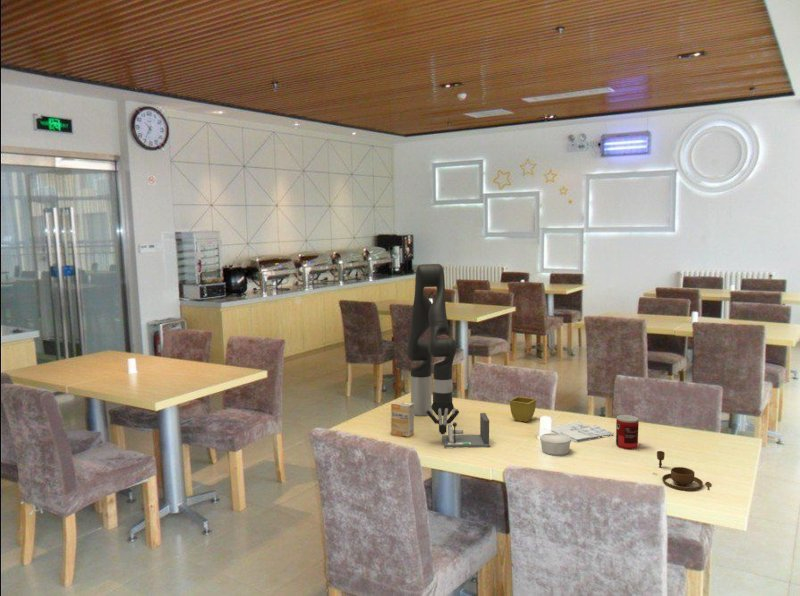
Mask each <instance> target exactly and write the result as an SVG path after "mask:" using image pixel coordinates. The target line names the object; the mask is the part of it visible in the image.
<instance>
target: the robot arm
mask: <svg viewBox="0 0 800 596" xmlns="http://www.w3.org/2000/svg"><path fill="white" fill-rule="evenodd" d="M414 278H415V280H414V281H415V282H414V283H415V284H414V297H413V303H412V304H413V305H412V311H411V318H410V319H411V321H410V329H409V331H410V332H409V336H408V342H407V345H406V355H407V356H406V357H407V358H408V359H407V360H409V361H412V362H413V361H414V362H415V361H416V362H417V361H422V363H420V364H419V365H417V366H415V367H412V368H411V369H410V403H414V416H421V417H423V416H429V418H430V419H431V421H432V422H433V423H434V424H435V425H438V433H440V435H446V434H447V433H448V424H449V423H451V424H452V422H453V421H454V420H455V419H456V418H457V416H458V415H459V414H460V411H459V409H458V408H455V407H454V404H453V390H454V389H453V379H452V377H453V364H454V359H455V355H456V353H457V348H458V347H457V343H456V340H455V339H454V338H451V337H441V338H438V337H440V336H442V335H445V334H447V333H448V332H449V323H448V315H447V310H446V308H447V307H446V283H445V281H446V280H445V272H444V267H443V266H442V264H440V263H425V264H424V263H423V264H418V265H417V267H416V269H415V277H414ZM434 287H435V288H436V294H435V297H434V299H433V301H431V300H430V298H429V297H428V296H427V294H426V293H425V291H424V289H426V288H434ZM429 329H430V330H429ZM428 330H429V331H430V335H429V336H430V337H429V339H420V338H421V337H422V336H423V335H424V333H425V332H427V331H428ZM443 357H445V358H444V359H443V360H442V361H438V362H435V363H434V364H433V369H432V358H443ZM432 370H433V372H432ZM432 373H433V374H432ZM432 375H433V378H432ZM432 379H433V380H432ZM434 414H435V415H436V416H437V418H436V416H435V415H434ZM448 416H449V417H448Z"/></svg>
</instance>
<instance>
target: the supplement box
mask: <svg viewBox="0 0 800 596" xmlns="http://www.w3.org/2000/svg"><path fill="white" fill-rule="evenodd" d="M390 406H391V407H390V424H391V425H390V428H391V430H390V432H391V434H392V436H397V435H401V436H400V437H404V436H406V437H405V438H410V437H412V436H414V432H415V427H414V425H415V419H414V418H415V417H414V416H415V415H414V403H411V402H405V401H401V400H395V401H393V402H391V403H390ZM391 434H390V435H391ZM411 435H412V436H411Z"/></svg>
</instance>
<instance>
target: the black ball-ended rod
mask: <svg viewBox="0 0 800 596" xmlns="http://www.w3.org/2000/svg"><path fill="white" fill-rule="evenodd" d="M457 425H458V424H457V422H453V423H452V427H453V430H454V434H453V435H454V443H456V440H455V435H456V434H455V430H456V427H457Z"/></svg>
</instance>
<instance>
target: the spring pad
mask: <svg viewBox="0 0 800 596" xmlns="http://www.w3.org/2000/svg"><path fill="white" fill-rule="evenodd" d="M447 435H448V437H449V441H450V442H452V443H454V440H453V435H454V427H453V424H452V422H451V423H449V424H447ZM455 435H464V429H455Z"/></svg>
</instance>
